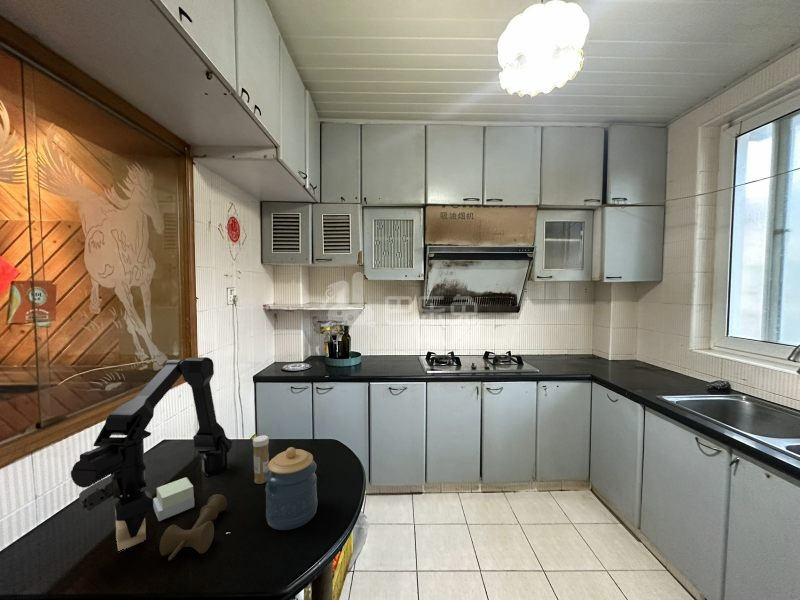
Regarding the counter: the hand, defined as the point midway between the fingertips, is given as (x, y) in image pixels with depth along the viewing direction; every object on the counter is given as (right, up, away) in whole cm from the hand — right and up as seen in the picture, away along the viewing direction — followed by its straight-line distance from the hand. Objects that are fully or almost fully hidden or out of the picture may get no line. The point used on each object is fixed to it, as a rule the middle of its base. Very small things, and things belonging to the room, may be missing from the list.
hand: (130, 527), depth 77 cm
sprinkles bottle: (+21, -3, +24) cm, 32 cm away
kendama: (+16, -3, 0) cm, 16 cm away
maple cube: (0, -3, 0) cm, 3 cm away
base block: (+2, -3, +12) cm, 13 cm away
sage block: (+2, 0, +12) cm, 12 cm away
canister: (+36, -2, +8) cm, 37 cm away
